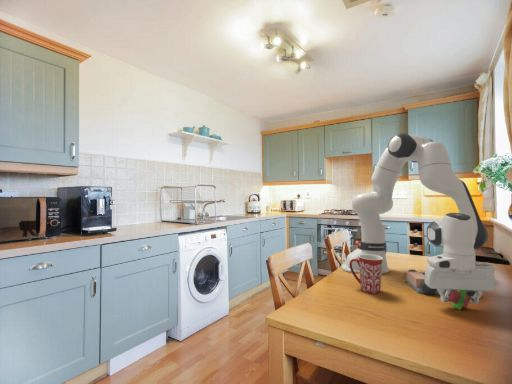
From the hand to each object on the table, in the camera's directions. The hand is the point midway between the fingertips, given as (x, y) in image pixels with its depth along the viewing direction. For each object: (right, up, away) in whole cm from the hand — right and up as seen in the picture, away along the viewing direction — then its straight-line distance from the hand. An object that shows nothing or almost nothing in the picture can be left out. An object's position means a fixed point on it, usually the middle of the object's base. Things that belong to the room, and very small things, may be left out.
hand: (459, 302), depth 90 cm
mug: (-24, -2, +18) cm, 30 cm away
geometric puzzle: (0, -2, 0) cm, 2 cm away
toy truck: (+5, -2, +18) cm, 19 cm away
